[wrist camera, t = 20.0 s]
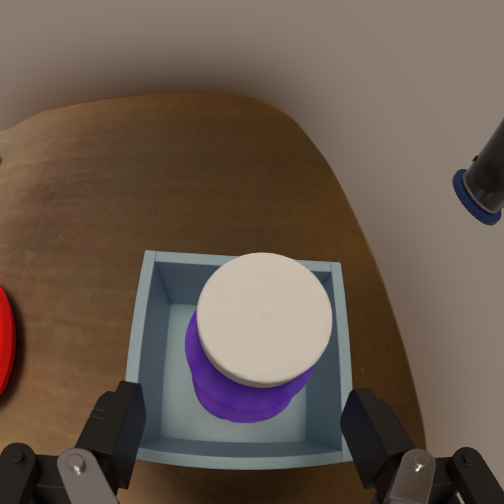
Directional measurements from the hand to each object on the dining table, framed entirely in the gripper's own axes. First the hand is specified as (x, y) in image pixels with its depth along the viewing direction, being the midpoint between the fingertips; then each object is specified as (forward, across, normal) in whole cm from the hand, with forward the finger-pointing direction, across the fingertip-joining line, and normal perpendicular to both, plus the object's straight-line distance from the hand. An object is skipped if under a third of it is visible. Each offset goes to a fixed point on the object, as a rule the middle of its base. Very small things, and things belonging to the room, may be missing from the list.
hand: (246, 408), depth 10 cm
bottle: (+12, 0, +8) cm, 14 cm away
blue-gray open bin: (+13, 0, +8) cm, 15 cm away
